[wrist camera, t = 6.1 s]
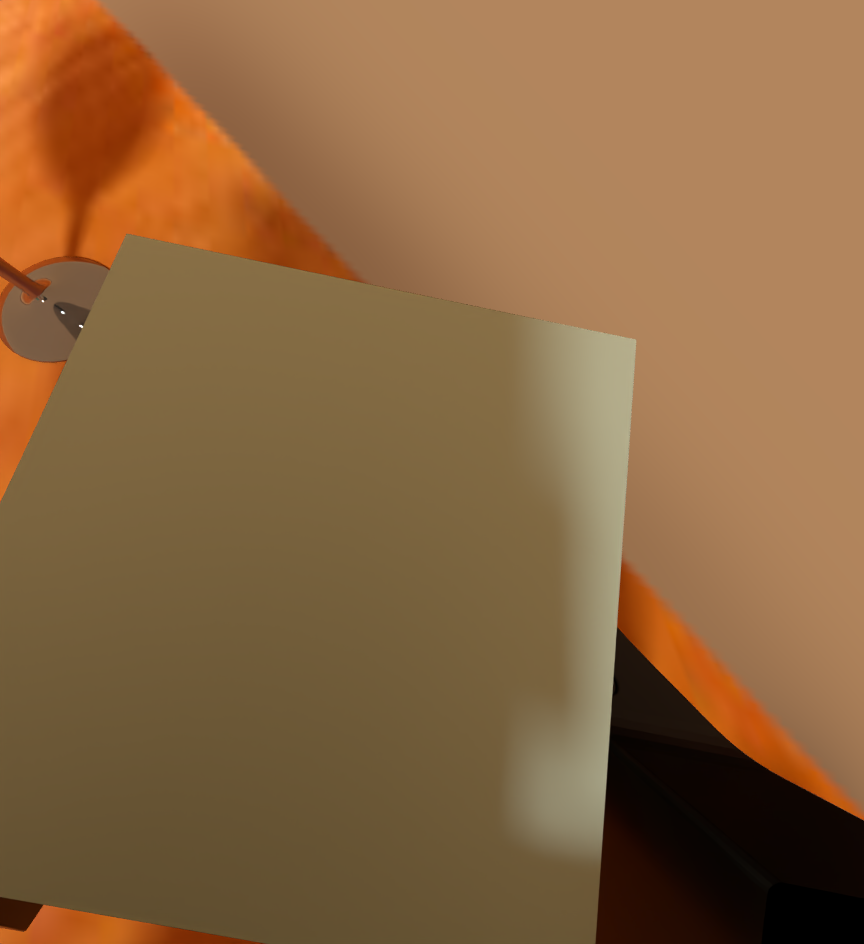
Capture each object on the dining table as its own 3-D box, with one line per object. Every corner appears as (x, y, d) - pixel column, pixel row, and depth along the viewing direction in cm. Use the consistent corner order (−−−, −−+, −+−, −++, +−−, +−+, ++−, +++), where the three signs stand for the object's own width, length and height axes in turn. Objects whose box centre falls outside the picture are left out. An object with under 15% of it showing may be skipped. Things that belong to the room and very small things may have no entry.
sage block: (440, 617, 14) (591, 1002, 2) (322, 594, 14) (-172, 868, 2) (460, 501, 16) (635, 339, 3) (351, 479, 15) (126, 233, 3)
